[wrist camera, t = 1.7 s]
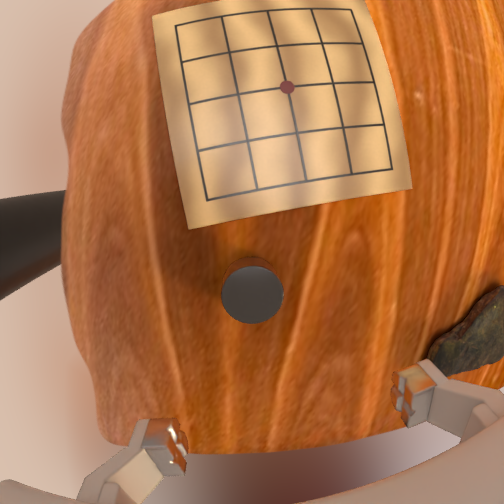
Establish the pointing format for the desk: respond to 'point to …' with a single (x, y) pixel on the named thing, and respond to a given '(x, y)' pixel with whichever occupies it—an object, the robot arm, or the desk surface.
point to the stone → (473, 338)
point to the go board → (277, 106)
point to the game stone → (251, 290)
